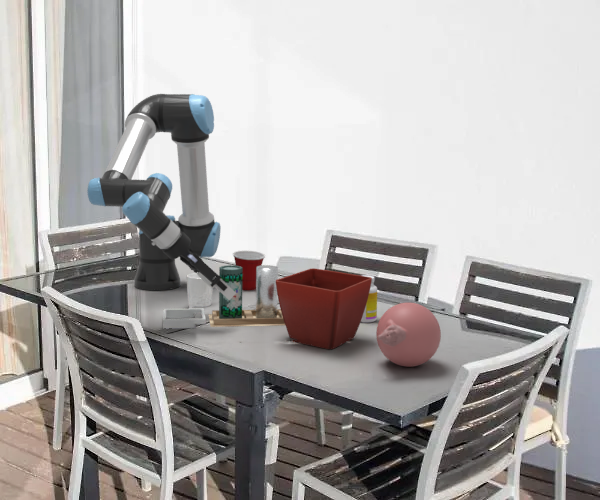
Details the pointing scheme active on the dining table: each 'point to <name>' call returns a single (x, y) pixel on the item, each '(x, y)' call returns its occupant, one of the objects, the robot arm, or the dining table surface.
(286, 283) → the plant pot
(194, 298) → the white cup
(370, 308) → the supplement bottle
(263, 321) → the wooden tray
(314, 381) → the dining table surface
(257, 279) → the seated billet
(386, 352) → the balloon
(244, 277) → the plastic cup
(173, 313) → the frame
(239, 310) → the can
